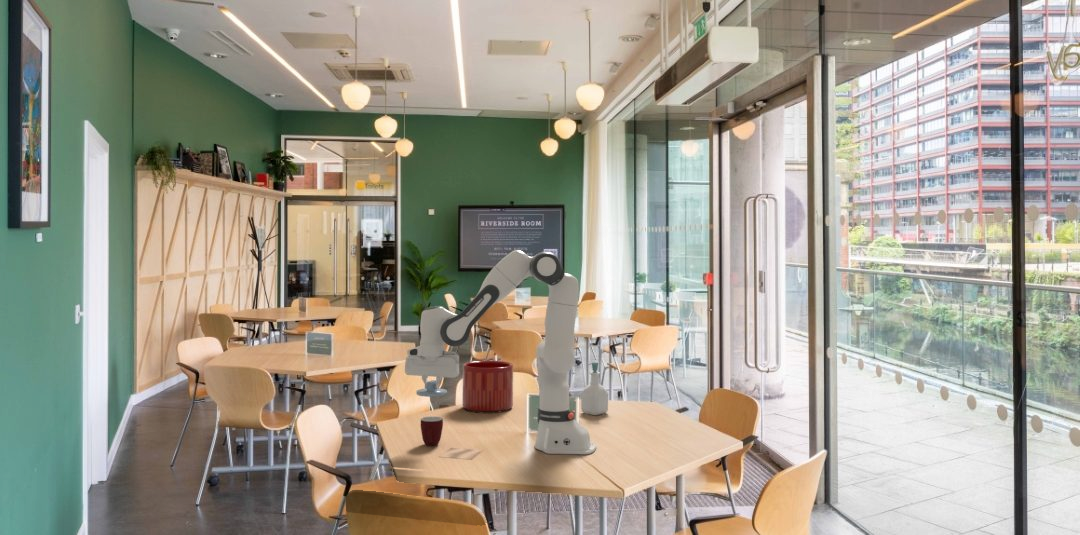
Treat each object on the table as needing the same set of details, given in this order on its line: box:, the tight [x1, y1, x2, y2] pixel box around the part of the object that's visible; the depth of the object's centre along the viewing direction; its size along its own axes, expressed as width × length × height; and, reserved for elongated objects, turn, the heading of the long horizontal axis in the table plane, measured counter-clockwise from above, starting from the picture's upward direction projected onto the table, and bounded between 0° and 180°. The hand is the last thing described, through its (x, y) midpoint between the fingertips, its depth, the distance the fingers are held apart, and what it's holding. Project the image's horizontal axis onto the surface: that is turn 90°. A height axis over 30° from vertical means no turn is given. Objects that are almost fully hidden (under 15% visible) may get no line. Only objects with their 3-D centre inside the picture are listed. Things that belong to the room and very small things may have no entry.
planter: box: [462, 360, 514, 413], centre depth 329 cm, size 23×23×20 cm
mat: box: [438, 447, 484, 461], centre depth 252 cm, size 12×12×1 cm
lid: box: [415, 379, 448, 398], centre depth 262 cm, size 11×11×4 cm
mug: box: [420, 416, 444, 447], centre depth 262 cm, size 11×8×10 cm
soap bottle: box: [580, 361, 609, 416], centre depth 321 cm, size 10×10×23 cm
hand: (431, 388), depth 262 cm, fingers closed on lid, 2 cm apart
